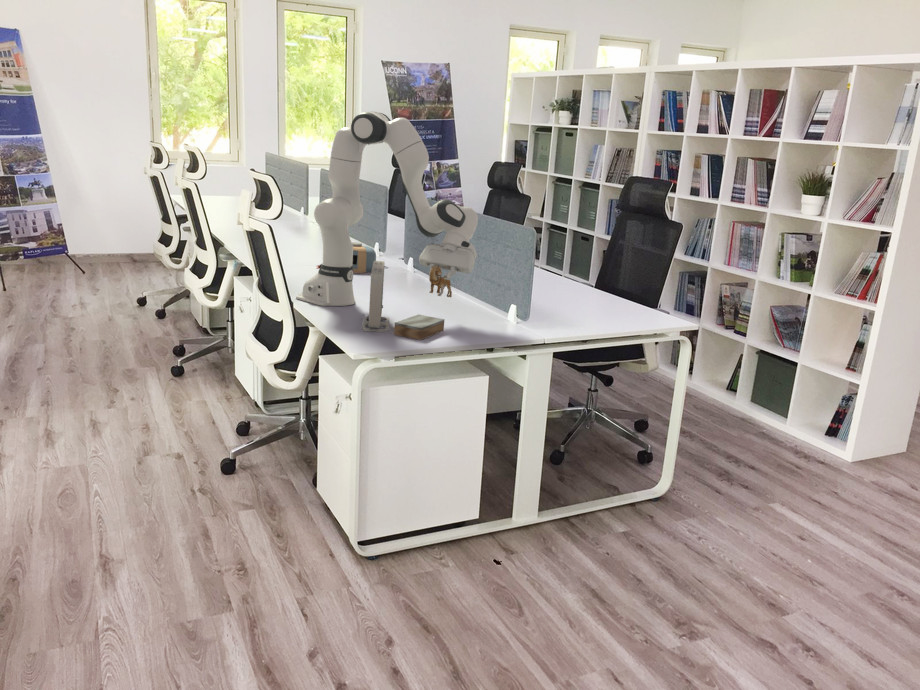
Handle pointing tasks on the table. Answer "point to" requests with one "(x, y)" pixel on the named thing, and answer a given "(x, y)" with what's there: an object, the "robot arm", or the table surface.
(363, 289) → the table surface
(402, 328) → the plinth
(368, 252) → the alarm clock
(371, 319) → the network device
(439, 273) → the lion figurine
